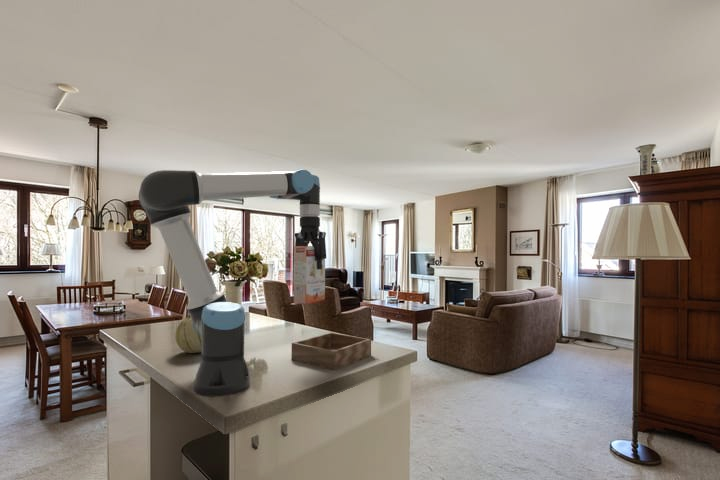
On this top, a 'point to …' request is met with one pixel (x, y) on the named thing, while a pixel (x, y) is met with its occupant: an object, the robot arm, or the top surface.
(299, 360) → the box
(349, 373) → the top surface
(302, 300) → the cracker box
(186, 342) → the cantaloupe
